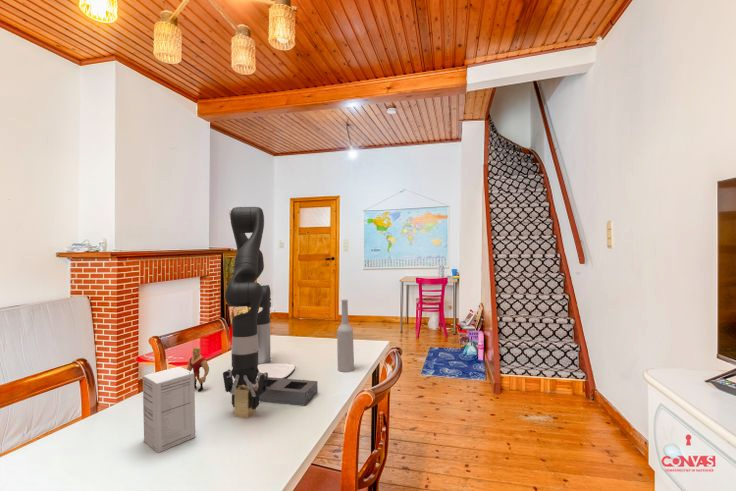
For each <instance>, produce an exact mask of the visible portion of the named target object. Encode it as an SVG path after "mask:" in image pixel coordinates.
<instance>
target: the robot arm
mask: <svg viewBox="0 0 736 491" xmlns="http://www.w3.org/2000/svg"><path fill="white" fill-rule="evenodd" d="M229 214H230V216H229V218H230V225H231V229H232V233H233V237H234V240H235V245H236V251H237V253H236V255H235V258H234V268H233V273H232V276H231V279H230V281H229V282H228V284H227V286H226V290H225V292H224V293H225V295H224V299H225V300H224V301H225V302H226V304H227V305H228V306H229V307H232V308H238V307H247V308H250V309H248V311H247V312H244V313H239V314H237V315H235V316H233V317H232V321H231V325H232V326H231V327H232V328H231V329H232V330H231V331H232V332H231V333H232V334H231V335H232V337H231V368H232V369H227V370H226V371H223V373H222V378H223V383H224V391H225V392H226V393H230V394H231V404H232V407H233V408H235V404H234V389H235V388H237V387H239V386H240V385H245V386H248V389H249V390H250V391H251V394H252V397H251V398H252V409H256V410H257V408H258V407H259V405H260V401H259V395H261V394H262V393H264V392H265V391H266V384H267V378H268V373H267V372H265V373H261V372H259V370H258V365H259V364H271V363H272V361H271V359H272V358H271V354H272V353H271V288H270V287H269V285H261V283H259V282H256V280H258V278H259V277H260V276H261V274H262V273H263V272H264V268H265V263H264V254H263V252H262V250H260V248H261V243H262V239H263V234H264V228H265V215H264V210H263V209H262V208H261V207H259V206H236V207H232V209H231V211H230V213H229ZM247 234H251V235H250V237H249V238H248V236H247ZM260 308H262V309H261V310H260ZM257 376H258V380H259V386H258V382H257V379H256V378H257ZM233 379H234V380H233ZM252 383H253V385H252Z"/></svg>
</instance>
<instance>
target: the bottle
mask: <svg viewBox="0 0 736 491" xmlns="http://www.w3.org/2000/svg"><path fill="white" fill-rule="evenodd" d="M340 301H341V322H340V324H339V327H338V328H337V332H336V335H337V337H336V339H337V340H336V341H337V342H336V343H337V354H336V355H337V371H339V372H340V373H349V372H353V371H354V370H355V358H354V357H355V355H354V354H355V353H354V352H355V351H354V329H353V326H352V325H351V324H350V323H349V313H348V312H349V310H348V309H349V307H348V303H349V302H348V301H349V300H348V299H341V300H340Z"/></svg>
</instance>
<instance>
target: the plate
mask: <svg viewBox="0 0 736 491" xmlns="http://www.w3.org/2000/svg"><path fill="white" fill-rule="evenodd" d="M295 368H296V367H295V365H294V364H291V363H269V364H259V365H258V370H259V372H261V373H265V372H267V373H268V377H272V378H284V379H286V378H287V377H288V376H290V374H291V373H292V372H293V371H294V370H295ZM257 377H258V376H257Z"/></svg>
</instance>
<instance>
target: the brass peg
mask: <svg viewBox="0 0 736 491" xmlns="http://www.w3.org/2000/svg"><path fill="white" fill-rule="evenodd" d="M252 385H253V384H252ZM251 397H252V394H251V391H250V390H249V389H248V386H245V385H240V386H239V387H237V388H235V389H234V404H235V407H234V417H235V418H236V417H237V418H243V419H244V418H245V419H249V418H250V417H252V416H253V415H254V414H255V413H256V412H257V408H256V409H252V398H251Z"/></svg>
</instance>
